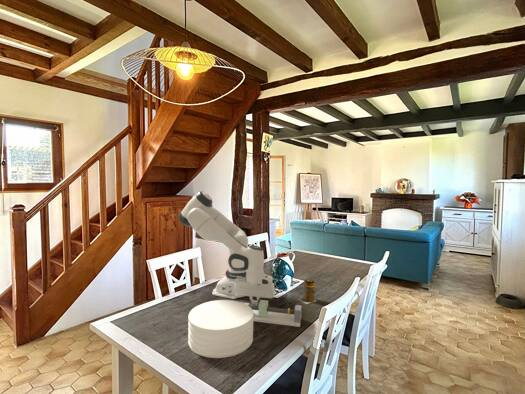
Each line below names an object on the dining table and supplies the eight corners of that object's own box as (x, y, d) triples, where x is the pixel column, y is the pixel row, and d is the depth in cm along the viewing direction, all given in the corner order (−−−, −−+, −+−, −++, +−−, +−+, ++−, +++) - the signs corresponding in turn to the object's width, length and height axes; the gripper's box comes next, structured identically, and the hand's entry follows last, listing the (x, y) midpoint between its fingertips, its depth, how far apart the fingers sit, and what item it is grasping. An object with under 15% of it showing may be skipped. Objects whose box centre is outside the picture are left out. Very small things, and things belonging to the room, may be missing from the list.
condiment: (317, 301, 165) (317, 281, 165) (306, 304, 161) (307, 283, 160) (308, 296, 171) (309, 277, 171) (298, 299, 167) (298, 279, 166)
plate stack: (217, 368, 105) (217, 337, 104) (175, 339, 123) (175, 314, 122) (265, 337, 126) (266, 312, 125) (223, 317, 144) (224, 295, 143)
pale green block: (258, 316, 142) (258, 303, 142) (260, 312, 147) (260, 299, 146) (266, 317, 141) (266, 304, 141) (267, 313, 146) (268, 300, 145)
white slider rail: (239, 319, 141) (239, 305, 141) (245, 310, 151) (245, 297, 151) (299, 326, 135) (300, 312, 135) (301, 317, 145) (301, 303, 145)
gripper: (233, 278, 143) (233, 304, 144) (273, 281, 139) (272, 309, 139) (237, 274, 149) (237, 299, 150) (275, 277, 145) (275, 304, 145)
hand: (254, 304), depth 145 cm, fingers closed
